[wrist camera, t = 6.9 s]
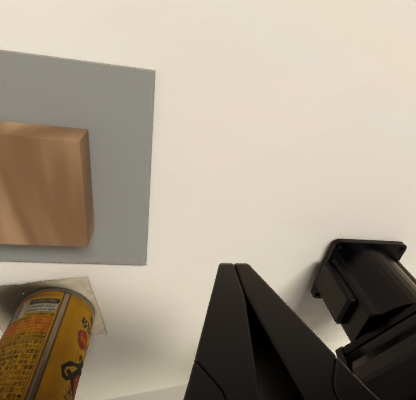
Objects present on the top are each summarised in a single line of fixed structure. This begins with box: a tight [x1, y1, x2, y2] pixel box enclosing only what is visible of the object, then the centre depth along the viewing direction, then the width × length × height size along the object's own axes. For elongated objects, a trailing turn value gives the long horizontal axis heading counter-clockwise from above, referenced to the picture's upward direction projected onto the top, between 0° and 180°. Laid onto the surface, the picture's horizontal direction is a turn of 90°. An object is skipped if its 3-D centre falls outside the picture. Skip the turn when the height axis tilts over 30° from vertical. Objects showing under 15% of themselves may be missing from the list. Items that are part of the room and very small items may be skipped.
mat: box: [0, 50, 155, 265], centre depth 19 cm, size 12×14×1 cm
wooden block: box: [0, 121, 95, 247], centre depth 18 cm, size 2×7×8 cm
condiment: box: [0, 277, 107, 400], centre depth 20 cm, size 7×8×12 cm
